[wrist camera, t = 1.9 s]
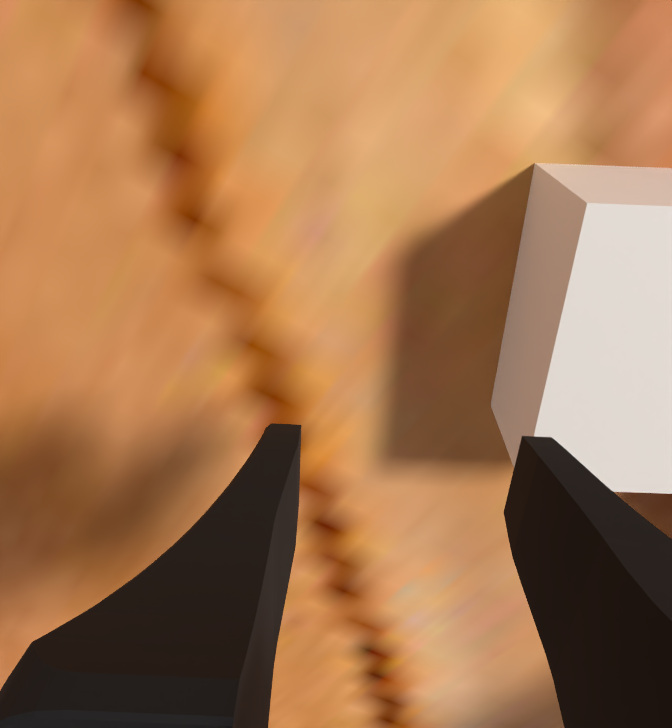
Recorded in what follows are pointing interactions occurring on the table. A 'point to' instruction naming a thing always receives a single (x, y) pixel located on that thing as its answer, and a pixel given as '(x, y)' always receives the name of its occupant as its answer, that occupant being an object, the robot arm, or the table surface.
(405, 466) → the table surface
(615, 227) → the block
